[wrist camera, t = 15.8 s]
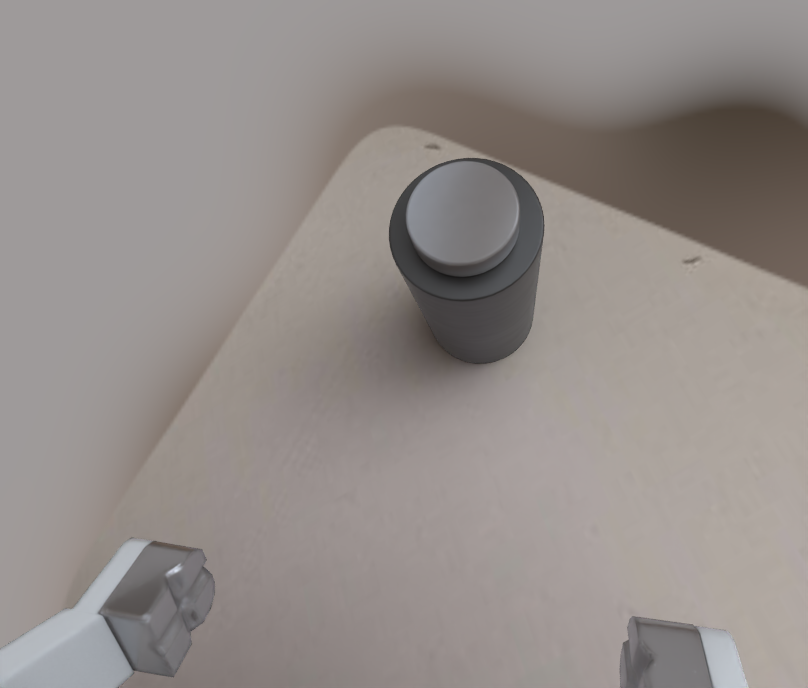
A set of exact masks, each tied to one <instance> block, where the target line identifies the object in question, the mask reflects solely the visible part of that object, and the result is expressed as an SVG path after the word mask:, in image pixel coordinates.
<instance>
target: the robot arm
mask: <svg viewBox="0 0 808 688" xmlns="http://www.w3.org/2000/svg"><path fill="white" fill-rule="evenodd" d="M206 560H207V559H206V557H205V554H204V552H203V550H202V549H198V548H192V547H186V546H180V545H174V544H168V543H162V542H157V541H152V540H145V539H139V538H130V539H129V540H127V541H126V542H124V543H123V544H122V545H121V546H120V548H119V549H118V550H117V552H116V553H115V554H114V556H113V557H112V558H111V559H110V561H109V562H108V563H107V565H106V566H105V567H104V568H103V570H102V571H101V572H100V574H99V575H98V576H97V578H96V579H95V580H94V581H93V583H92V584H91V585H90V587H89V588H88V589H87V591H86V592H85V593H84V594H83V596H82V597H81V598H80V600H79V601H78V602H77V603H76V605H75V606H74V607H73V609H68V608H65V609H63V610H62V611H60V612H59V613H57V614H55V615H54V616H52V617H51V618H49V619H47V620H46V621H44V622H42V623H41V624H39V625H38V626H36V627H34V628H33V629H31V630H30V631H28V632H26V633H25V634H23V635H21V636H20V637H18V638H17V639H15V640H13V641H12V642H10V643H8V644H7V645H5V646H4V647H2V648H1V649H0V688H118V687H119V686H120V685H121V684H122V683H123V682H125V681H126V680H127V679H128V678H129V677H130V676H132V675H133V674H134V671H140V672H146V673H151V674H157V675H163V676H168V677H174V676H175V674H176V672H177V670H178V668H179V667H180V665H181V663H182V661H183V659H184V657H185V656H186V654H187V652H188V650H189V648H190V646H191V645H192V640H191V631H192V630H194V629H195V628H196V627H198V626H199V625H201V624H202V623H203V622H204V621H205V619H206V617H207V615H208V613H209V611H210V609H211V606H212V602H213V598H214V595H215V581H214V579H213V576H212V574H211V573H210V572H209V571H208V570H207V569H206V568H205V567H203V566H204V564H205V562H206ZM627 630H628V638H629V640H628V641H626V642H624V643H623V646H622V651H621V657H620V687H621V688H748V685H747V682H746V678H745V675H744V671H743V668H742V665H741V661H740V658H739V655H738V651H737V648H736V644H735V641H734V639H733V637H732V636H731V634H730V633H729V632H728V631H726V630H721V629H714V628H706V627H699V626H694V625H692V624H685V623H677V622H670V621H663V620H656V619H649V618H642V617H634V616H632V617H631V618H630V620H629V623H628V627H627ZM133 670H134V671H133Z"/></svg>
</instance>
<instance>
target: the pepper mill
mask: <svg viewBox="0 0 808 688" xmlns="http://www.w3.org/2000/svg"><path fill="white" fill-rule="evenodd" d="M543 236H544V216H543V211H542V207H541V204H540V202H539V199H538V197H537V195H536V193H535V192H534V190H533V189H532V187H531V186H530V185H529V183H528V182H527V181H526V180H525V179H524V178H523V177H522V176H521V175H519V174H518V173H517V172H515V171H514V170H512V169H510V168H509V167H507V166H505V165H503V164H500V163H498V162H495V161H491V160H487V159H479V158H463V159H456V160H451V161H447V162H444V163H441V164H439V165H436V166H434V167H432V168H430V169H429V170H427V171H425V172H424V173H422V174H421V175H420V176H418V177H417V178H416V179H415V180H414V181H413V182H412V183H411V184H410V185H409V186H408V187H407V188H406V189H405V191H404V192H403V193H402V194H401V196H400V198H399V200H398V201H397V203H396V205H395V208H394V210H393V213H392V217H391V220H390V227H389V242H390V248H391V252H392V255H393V258H394V260H395V263H396V265H397V267H398V269H399V270H400V272H401V274H402V276H403V278H404V280H405V282H406V284H407V285H408V287H409V289H410V291H411V293H412V295H413V297H414V299H415V300H416V302H417V304H418V306H419V308H420V310H421V312H422V314H423V315H424V317H425V319H426V321H427V323H428V325H429V327H430V329H431V330H432V332H433V334H434V336H435V338H436V339H437V341H438V343H439V344H440V345H441V346H442V347H443V348H444V349H445V350H446V351H447V352H448V353H449V354H451V355H452V356H454V357H456V358H458V359H460V360H463V361H466V362H471V363H490V362H494V361H498V360H500V359H503V358H505V357H507V356H508V355H510V354H512V353H513V352H514V351H515V350H517V349H518V348H519V347H520V345H521V344H522V343H523V342H524V340H525V339H526V337H527V335H528V333H529V331H530V328H531V325H532V321H533V314H534V306H535V298H536V290H537V283H538V275H539V267H540V259H541V252H542V244H543Z"/></svg>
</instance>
